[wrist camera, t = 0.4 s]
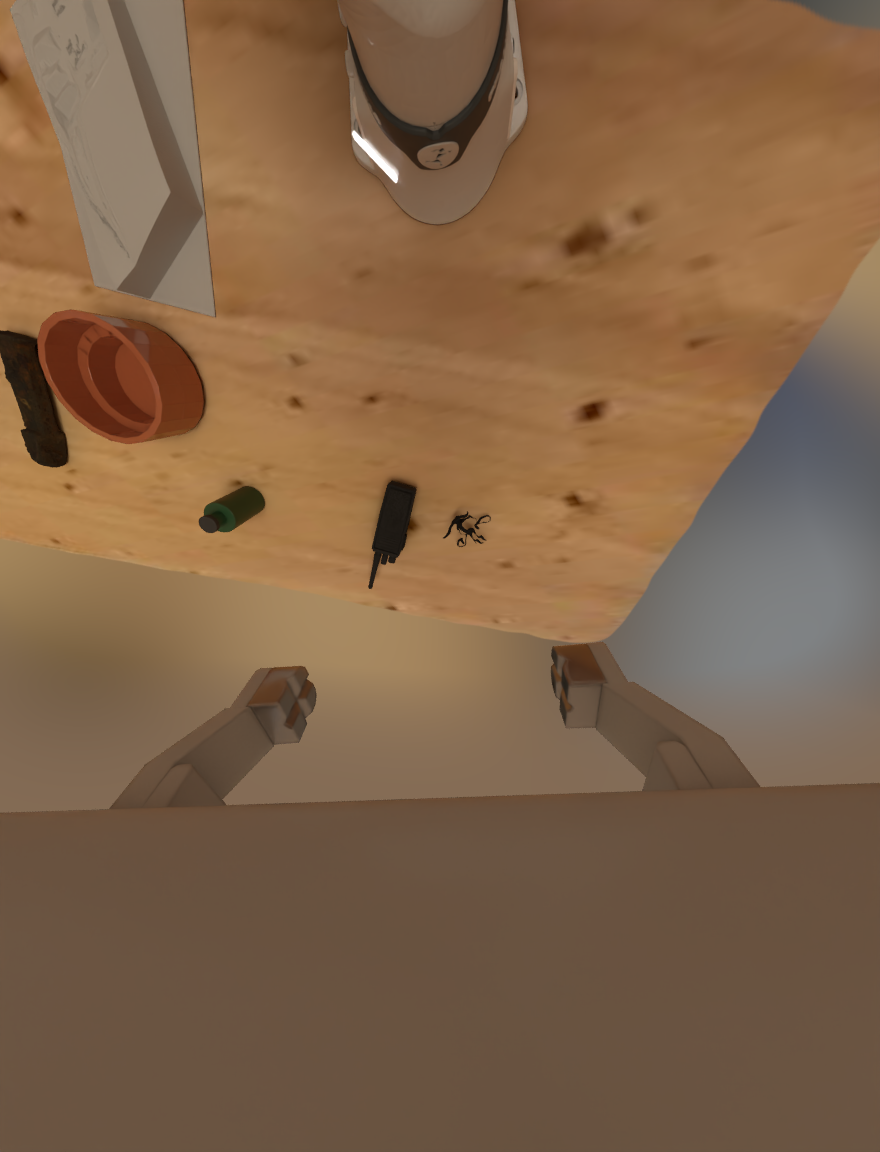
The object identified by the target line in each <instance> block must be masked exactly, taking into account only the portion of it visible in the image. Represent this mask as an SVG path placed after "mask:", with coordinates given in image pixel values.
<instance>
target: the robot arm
mask: <svg viewBox="0 0 880 1152" xmlns="http://www.w3.org/2000/svg"><path fill="white" fill-rule="evenodd" d="M337 2H338V9H339V14H340V19H341V22H342V25H344V26H345V27H347V39H348V50H346V51H345V63H346V70H347V74H348V77H349V87H350V111H351V136H352V148H353V151H354V155H355V157H356V159H357V161H358V162H359V163H360V165H362V166H363V167H364V168H365V169H366V170H368V171H369V172H371V173H372V174H374V175H375V176H377V177H378V178H379V179H380V180H381V181H382V183H383V184H384V186H385V187H386V189H387V190H388V192H389V193H390V195H391V196H392V198H393V199H394V201H395V202H396V203H397V204H398V205H399V206H400V207H401V208H402V209H403V210H404V211H405V212H406V213H407V214H409V215H410V216H411V217H413V218H415V219H417V220H419V221H421V222H424V223H428V224H446V223H450V222H453V221H455V220H457V219H459V218H461V217H463V216H464V215H466V214H467V213H468V212H469V211H471V210H472V209H473V208H474V207H475V206H476V205H477V204H478V202H479V201H480V200H481V199H482V197H483V196H484V194H485V193H486V191H487V190H488V188H489V186H490V184H491V182H492V180H493V178H494V176H495V173H496V171H497V168H498V166H499V163H500V161H501V158H502V156H503V154H504V152H505V150H506V149H507V148H508V146H509V145H510V144H511V143H512V142H513V141H514V139H515V138H516V137H517V136H518V134H519V133H520V131H521V130H522V128H523V126H524V124H525V122H526V119H527V110H528V102H527V94H526V86H525V78H524V70H523V62H522V54H521V46H520V38H519V30H518V22H517V14H516V6H515V0H337ZM515 92H516V94H517V98H516V99H515ZM514 99H515V100H514ZM360 132H361V134H360ZM551 656H552V659H553V662H554V664H553V665H552V666H551V679H552V685H553V689H554V693H555V696H556V697H557V698H558V699H559V700H560V712H561V714H562V718H563V721H564V723H565V726H566V728H596V730H598V731H599V732H600V733H601V734H602V735H603V736H604V737H605V738H606V739H607V740H608V741H609V742H610V743H611V744H612V745H613V746H614V747H615V748H616V749H617V750H618V751H619V752H621V753H622V754H623V755H624V756H625V757H626V758H627V759H628V760H629V761H630V762H631V763H632V764H633V765H634V766H635V767H636V768H637V769H638V770H639V771H640V772H641V773H642V774H643V775H645V777H646V780H645V783H644V787H643V790H642V791H630V792H601V793H573V794H544V795H543V794H542V795H513V796H485V797H459V798H458V797H457V798H427V799H398V800H368V801H342V802H339V801H338V802H312V803H311V802H308V803H279V804H249V805H226V804H225V802H224V801H223V800H222V799H223V798H224V797H225V796H226V795H227V794H228V793H229V792H230V791H231V790H232V789H233V788H234V787H235V786H236V785H237V784H238V783H239V782H240V781H241V780H242V779H243V778H244V777H245V776H246V774H247V773H248V772H249V771H250V770H251V769H252V768H253V767H254V766H255V765H256V764H257V763H258V762H259V761H260V760H261V759H262V758H263V757H264V756H265V755H266V754H267V753H268V752H269V751H270V750H271V749H272V747H274V745H275V744H286V743H299V741H300V739H301V737H302V734H303V732H304V730H305V727H306V725H307V722H306V719H305V718H306V717H307V716H308V715H309V714H311V713H312V711H313V709H314V706H315V703H316V689H315V687H314V685H313V683H311V682H310V681H309V680H307V677H308V675H309V674H308V672H307V670H306V668H305V667H303V666H292V667H275V668H260V669H259V670H257V671H255V673H254V674H253V676H252V677H251V679H250V680H249V682H248V683H247V684H246V686H245V687H244V689H243V690H242V691H241V693H240V694H239V696H238V697H237V699H236V700H235V701H234V703H233V704H232V706H231V707H230V708H227V709H224V710H222V711H221V712H220V713H218V714H217V715H216V716H214V717H212V718H211V719H210V720H208V721H207V722H205V723H204V724H203V725H201V726H200V727H198V728H197V729H195V730H194V731H192V732H191V733H190V734H188V735H187V736H186V737H184V738H183V739H181V740H180V741H178V742H177V743H175V744H174V745H172V746H171V747H170V748H169V749H167V750H165V751H164V752H163V753H161V754H160V755H158V756H157V757H155V758H154V759H152V760H151V761H150V762H148V763H147V764H146V765H144V767H143V768H142V769H141V770H140V772H139V773H138V774H137V775H136V776H135V778H134V779H133V780H132V781H131V783H130V784H129V785H128V786H127V787H126V789H125V790H124V791H123V792H122V794H121V795H120V796H119V797H118V799H117V800H116V801H115V802H114V804H113V805H112V806H111V807H110V808H109V809H100V810H73V811H72V810H70V811H42V812H11V813H0V1152H880V783H865V784H836V785H808V786H778V787H760V786H759V784H758V783H757V782H756V780H755V779H754V778H753V776H752V775H751V774H750V772H749V771H748V770H747V769H746V767H745V766H744V765H743V763H742V762H741V761H740V759H739V758H738V757H737V755H736V754H735V753H734V751H733V750H732V749H731V748H730V746H729V745H728V743H727V742H726V741H725V739H724V738H723V737H721V736H720V735H718V734H717V733H715V732H713V731H712V730H710V729H709V728H707V727H705V726H704V725H702V724H701V723H699V722H697V721H695V720H694V719H692V718H691V717H689V716H688V715H686V714H684V713H683V712H681V711H679V710H678V709H676V708H675V707H673V706H672V705H670V704H668V703H667V702H665V701H663V700H661V699H660V698H658V697H657V696H655V695H654V694H652V693H651V692H649V691H647V690H646V689H644V688H643V687H641V686H639V685H638V684H636V683H635V682H628V681H627V679H626V678H625V676H624V674H623V673H622V671H621V669H620V667H619V666H618V664H617V663H616V661H615V659H614V657H613V656H612V654H611V652H610V651H609V649H608V647H607V646H606V644H605V643H603V642H596V643H586V644H576V645H565V646H553V647H552V655H551Z"/></svg>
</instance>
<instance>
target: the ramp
mask: <svg viewBox="0 0 880 1152" xmlns="http://www.w3.org/2000/svg"><path fill="white" fill-rule="evenodd" d="M10 11H11V13H12V17H13V21H14V23H15V25H16V28H17V32H18V35H19V38H20V41H21V43H22V46H23V49H24V52H25V55H26V57H27V60H28V63H29V65H30V68H31V71H32V73H33V76H34V79H35V81H36V84H37V86H38V89H39V91H40V93H41V96H42V99H43V101H44V103H45V106H46V109H47V112H48V114H49V117H50V119H51V122H52V124H53V127H54V130H55V132H56V135H57V137H58V140H59V143H60V145H61V149H62V153H63V157H64V161H65V166H66V170H67V174H68V178H69V182H70V186H71V190H72V194H73V198H74V202H75V207H76V211H77V215H78V219H79V223H80V227H81V231H82V235H83V239H84V243H85V248H86V252H87V256H88V260H89V264H90V268H91V272H92V276H93V280H94V284H95V286H98V287H101V288H105V289H109V290H113V291H117V292H121V293H125V294H128V295H132V296H136V297H140V298H144V299H148V300H151V301H155V302H159V303H163V304H167V305H171V306H175V307H178V308H182V309H186V310H190V311H194V312H198V313H201V314H205V315H209V316H213V317H216V313H215V304H214V294H213V284H212V274H211V265H210V255H209V245H208V235H207V226H206V216H205V206H204V196H203V187H202V177H201V167H200V157H199V148H198V138H197V128H196V118H195V109H194V99H193V89H192V79H191V70H190V60H189V50H188V41H187V31H186V21H185V11H184V2H183V0H16V2H15V3H14V4H13V5H12V8H11V9H10Z"/></svg>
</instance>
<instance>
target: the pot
mask: <svg viewBox="0 0 880 1152" xmlns="http://www.w3.org/2000/svg"><path fill="white" fill-rule="evenodd" d="M37 343H38V355H39V361H40V364H41V367H42V369H43V372H44V375H45V378H46V380H47V382H48V384H49V385H50V387H51V389H52V390H53V392H54V393H55V395H56V397H57V398H58V400H59V401H60V402H61V403H62V404H63V405H64V407H65V408H66V409H67V410H68V411H69V412H70V413H71V414H72V415H73V416H74V417H75V419H77V420H78V421H79V422H81V423H82V424H83V425H84V426H86V427H87V428H88V429H90V430H91V431H93V432H94V433H97V434H99V435H101V436H103V437H105V438H107V439H109V440H111V441H115V442H120V443H125V444H132V443H140V442H146V441H151V440H156V439H161V438H166V437H171V436H175V435H180V434H185V433H186V432H188V431H189V430H191V429H193V428H194V427H195V426H196V424H197V423H198V421H199V420H200V418H201V416H202V411H203V404H204V399H203V392H202V386H201V382H200V380H199V377H198V375H197V373H196V370H195V368H194V366H193V364H192V363H191V361H190V360H189V359H188V357H187V356H186V354H185V353H184V351H183V350H182V349H181V348H180V347H179V346H178V345H177V344H176V343H175V342H174V341H173V340H172V339H171V338H170V337H169V336H168V335H166V334H165V333H164V332H162V331H160V330H158V329H157V328H155V327H153V326H151V325H150V324H148V323H143V322H139V321H134V320H130V319H124V318H118V317H112V316H107V315H101V314H95V313H89V312H84V311H78V310H66V311H60V312H55V313H53V314H52V315H51V316H50V317H49V318H48V319H47V320H46V321H44V322H43V323H42V325H41V329H40V332H39V335H38V338H37Z"/></svg>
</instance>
